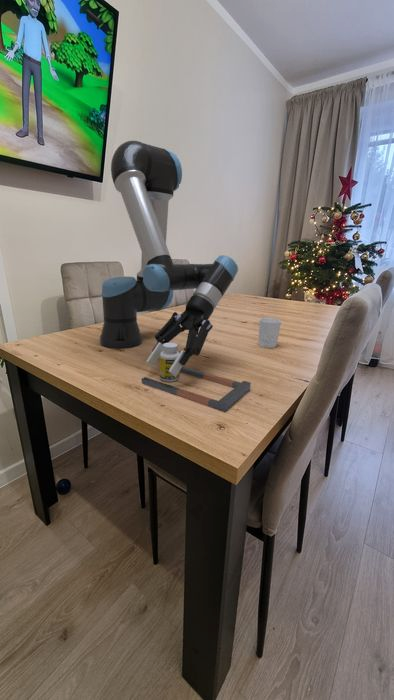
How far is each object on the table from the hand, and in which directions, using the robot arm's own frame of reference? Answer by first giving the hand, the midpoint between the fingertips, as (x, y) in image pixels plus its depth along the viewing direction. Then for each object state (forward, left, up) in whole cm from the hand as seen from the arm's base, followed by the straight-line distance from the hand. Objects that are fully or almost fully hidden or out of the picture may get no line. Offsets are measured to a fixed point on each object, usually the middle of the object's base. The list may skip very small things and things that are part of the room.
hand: (160, 368), depth 81 cm
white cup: (+12, +50, -4) cm, 52 cm away
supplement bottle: (+1, +3, -4) cm, 5 cm away
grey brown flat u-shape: (+9, +3, -4) cm, 10 cm away
